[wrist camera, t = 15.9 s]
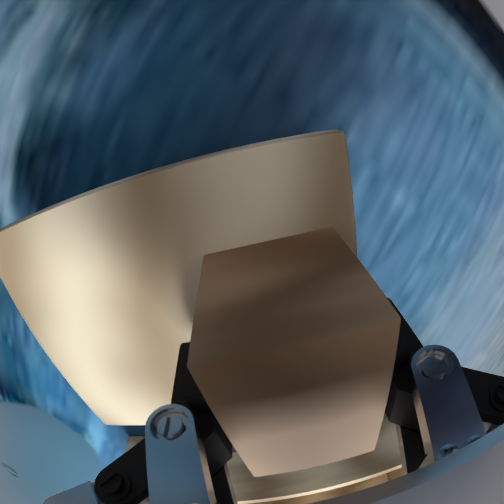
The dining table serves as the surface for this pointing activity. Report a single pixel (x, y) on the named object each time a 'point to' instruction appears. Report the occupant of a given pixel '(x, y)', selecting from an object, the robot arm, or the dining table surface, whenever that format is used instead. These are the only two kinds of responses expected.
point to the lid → (218, 298)
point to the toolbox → (316, 475)
